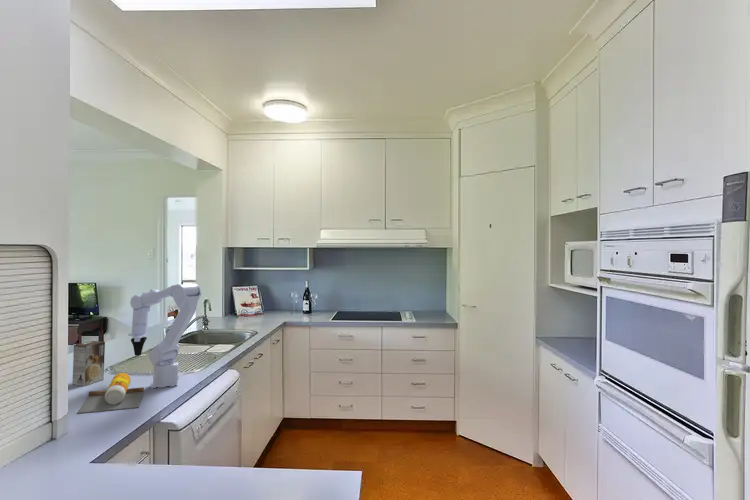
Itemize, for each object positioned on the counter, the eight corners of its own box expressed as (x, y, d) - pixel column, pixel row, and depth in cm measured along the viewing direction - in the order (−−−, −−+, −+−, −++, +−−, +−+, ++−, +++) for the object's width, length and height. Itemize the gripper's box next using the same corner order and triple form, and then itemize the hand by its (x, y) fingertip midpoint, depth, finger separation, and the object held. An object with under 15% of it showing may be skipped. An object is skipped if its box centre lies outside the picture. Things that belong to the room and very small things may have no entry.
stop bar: (144, 391, 161) (144, 387, 161) (143, 392, 160) (143, 388, 160) (88, 396, 154) (89, 391, 154) (88, 397, 153) (88, 392, 153)
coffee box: (91, 378, 175) (93, 340, 175) (104, 379, 174) (106, 341, 174) (71, 384, 166) (73, 344, 166) (84, 386, 165) (86, 345, 165)
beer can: (131, 371, 160) (124, 388, 147) (130, 386, 161) (123, 404, 147) (112, 372, 158) (104, 389, 144) (112, 387, 159) (103, 406, 145)
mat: (143, 392, 160) (143, 391, 160) (138, 407, 145) (138, 406, 145) (88, 397, 153) (88, 396, 153) (76, 413, 137) (76, 412, 137)
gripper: (131, 320, 181) (129, 351, 181) (126, 326, 168) (124, 359, 168) (149, 320, 184) (147, 350, 184) (146, 326, 170) (144, 359, 170)
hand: (137, 355), depth 176 cm, fingers closed
